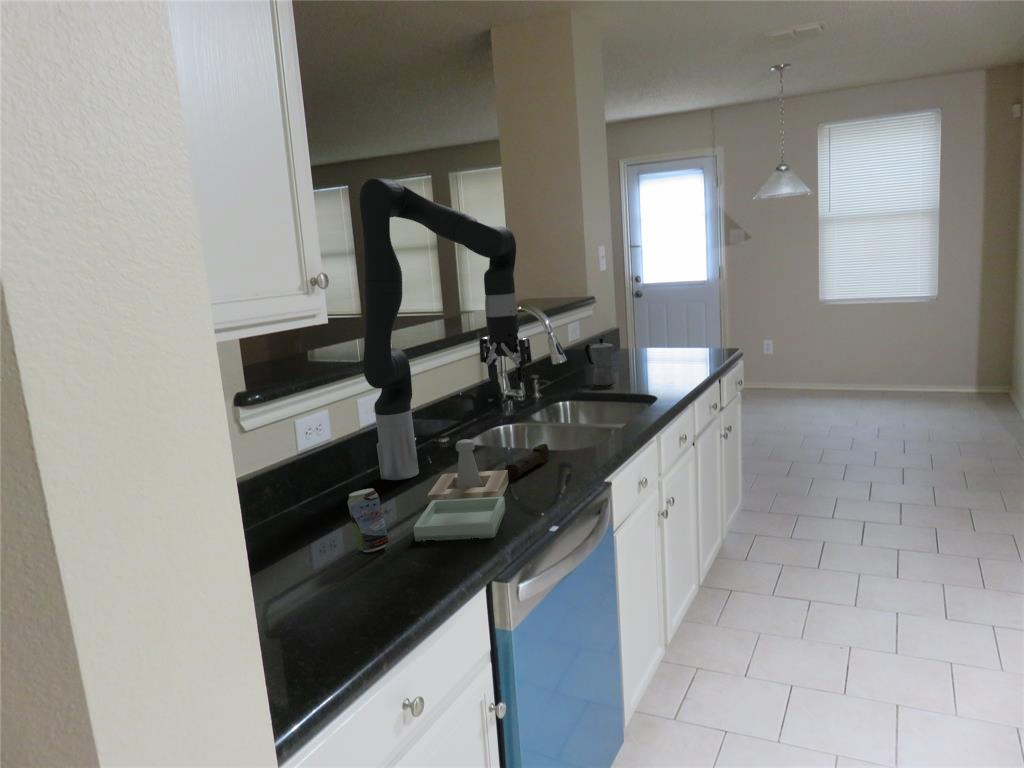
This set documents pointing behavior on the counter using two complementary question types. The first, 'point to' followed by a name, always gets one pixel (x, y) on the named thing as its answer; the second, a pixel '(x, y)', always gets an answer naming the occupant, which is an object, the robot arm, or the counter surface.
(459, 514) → the parts tray
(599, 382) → the coffeepot
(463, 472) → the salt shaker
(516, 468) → the hand tool
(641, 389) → the counter surface
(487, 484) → the holder
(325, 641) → the counter surface
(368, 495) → the beverage can
